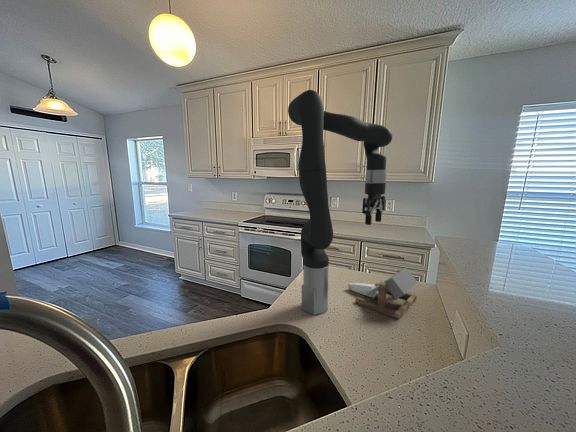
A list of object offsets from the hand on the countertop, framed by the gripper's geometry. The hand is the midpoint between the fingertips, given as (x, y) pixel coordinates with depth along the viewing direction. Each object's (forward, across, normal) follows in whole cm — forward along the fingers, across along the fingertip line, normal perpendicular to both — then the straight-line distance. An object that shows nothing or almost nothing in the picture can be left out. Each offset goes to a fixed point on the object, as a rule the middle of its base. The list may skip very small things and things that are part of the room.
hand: (373, 223), depth 97 cm
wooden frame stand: (+30, +1, +7) cm, 31 cm away
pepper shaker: (+28, +1, +2) cm, 28 cm away
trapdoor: (+27, +1, +11) cm, 29 cm away
